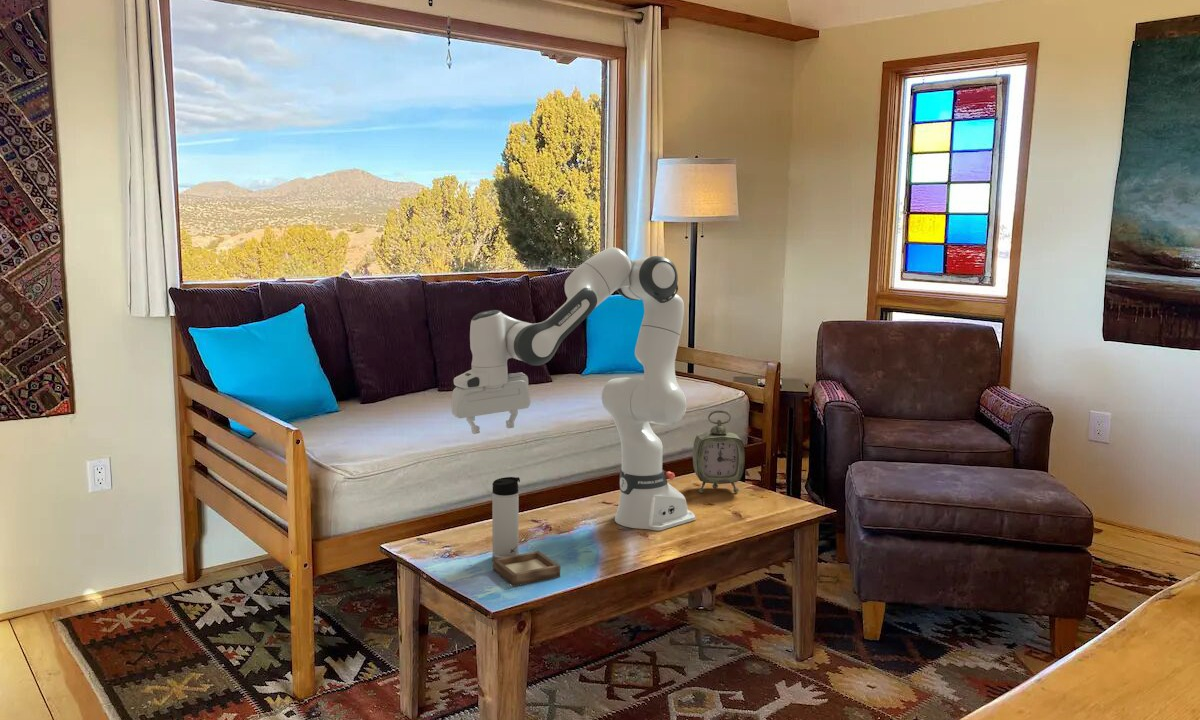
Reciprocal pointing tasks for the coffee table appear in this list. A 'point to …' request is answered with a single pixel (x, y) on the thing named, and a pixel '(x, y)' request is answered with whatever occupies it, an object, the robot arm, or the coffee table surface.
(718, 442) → the tabletop clock
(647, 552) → the coffee table surface
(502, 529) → the travel mug
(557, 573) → the tray
